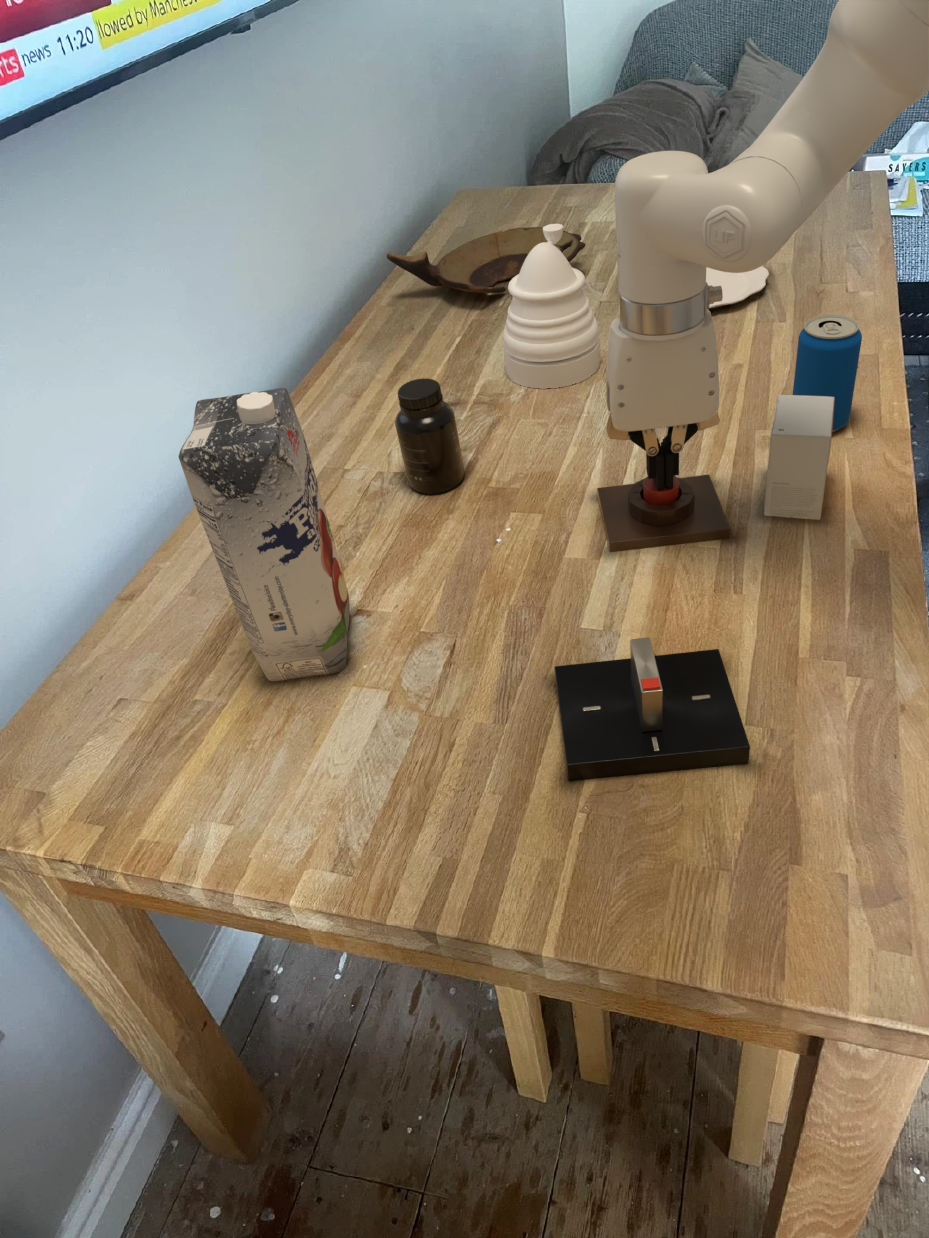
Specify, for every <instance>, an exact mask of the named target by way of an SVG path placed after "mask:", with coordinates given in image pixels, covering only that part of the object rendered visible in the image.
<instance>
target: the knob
mask: <svg viewBox="0 0 929 1238" xmlns="http://www.w3.org/2000/svg"><path fill="white" fill-rule="evenodd" d="M629 646H630V647H629V648H630V649H629V653H630V658H631V681H632V686H633V690H634V695H635V700H636V705H637V709H638V714H639V719H640V724H641V729H642V732H646V731H656V730H662V729H663V689H662V685H661V681H660V677H659V673H658V669H657V664H656V660H655V656H656V655H655V652H654V649H653V645H652V640H651V637H640V638H639V637H638V638H631V639H630V640H629Z"/></svg>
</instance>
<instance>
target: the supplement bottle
mask: <svg viewBox="0 0 929 1238" xmlns="http://www.w3.org/2000/svg"><path fill="white" fill-rule="evenodd" d="M397 398H398V405H399V409H400V410H399V411H398V412H397V414H396V415H395V420H394V424H395V430H396V435H397V439H398V443H399V447H400V452H401V457H402V461H403V466H404V470H405V475H406V479H407V482H408V484H409V486H410V487H411V488H412V489H413V490H414V491H415V492H418V493H421V494H425V495H436V494H442V493H445V492H448V491H450V490H452V489H454V488H456V487H457V486H458V485H459V484H460V483H461V482H462V480H463V478H464V476H465V466H464V460H463V453H462V448H461V443H460V437H459V431H458V426H457V421H456V420H457V419H456V416H455V415H456V414H455V411H454V409H453V407H452V406H451V405H450V404H449V403H448V402H446V401H445V400H444V395H443V393H442V389H441V384H440V383H439V381H437V380H435V379H433V378H427V377H426V378H423V377H422V378H417V379H413V380H410V381H407V382H405V383H403V385H401V386H400V387H399V389H398V390H397Z"/></svg>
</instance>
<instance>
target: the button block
mask: <svg viewBox="0 0 929 1238" xmlns="http://www.w3.org/2000/svg"><path fill="white" fill-rule="evenodd" d="M676 477H677V476H676ZM645 478H646V477H644V478H642V479H640V480H638V481H636V482H634V483H628V484H619V485H618V484H617V485H610V486H602V487H597V488H596V491H597V492H596V493H597V501H598V506H599V511H600V514H601V519H602V523H603V528H604V533H605V537H606V541H607V542H606V543H607V547H608V552H609V553H615V552H625V551H626V552H627V551H633V550H641V549H642V550H643V549H650V548H651V549H652V548H659V547H668V546H675V545H677V546H678V545H684V544H685V545H686V544H687V545H688V544H695V543H705V542H711V541H721V540H729V539H731V526H730V524H729V522H728V518H727V516H726V514H725V511H724V509H723V506H722V504H721V500H720V499H719V496H718V494H717V491H716V489H715V486H714V483H713V481H712V479H711V475H710V474H701V475H695V476H685V477H677V478H678V480H679V498H678V499H677V501H675V502H673V503H671V504H665V505H655V504H649V503H648V502H646V501H645V500H644V498H643V481H644V479H645Z"/></svg>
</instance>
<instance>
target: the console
mask: <svg viewBox="0 0 929 1238" xmlns="http://www.w3.org/2000/svg"><path fill="white" fill-rule="evenodd" d="M654 656H655V660H656V664H657V669H658V673H659V677H660V681H661V685H662V689H663V729H662V730H656V731H646V732H642V729H641V724H640V719H639V714H638V709H637V705H636V700H635V695H634V690H633V686H632V681H631V657H629V658H621V659H610V660H602V661H592V662H591V661H590V662H584V663H573V664H564V665H555V666H554V677H555V678H554V680H555V686H556V694H557V695H556V696H557V701H558V702H557V703H558V711H559V718H560V727H561V735H562V744H563V751H564V757H565V759H564V760H565V766H566V767H565V768H566V775H567V782H575V781H576V782H577V781H585V780H596V779H606V778H607V779H608V778H618V777H628V776H638V775H648V774H649V775H650V774H659V773H668V772H679V771H680V772H681V771H690V770H700V769H708V768H709V769H710V768H711V769H712V768H722V767H731V766H741V765H749V764H750V763H749V761H750V754H751V753H750V752H751V751H750V750H751V745H750V741H749V740H748V735H747V733H746V730H745V726H744V723H743V719H742V717H741V715H740V711H739V708H738V705H737V702H736V699H735V696H734V693H733V692H734V691H733V689H732V687H731V684H730V680H729V677H728V673H727V670H726V668H725V665H724V664H725V663H724V661H723V657H722V656H721V651H720V649H719V648H714V649H705V650H696V651H687V652H686V651H685V652H677V653H668V654H658V655H654Z"/></svg>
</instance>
